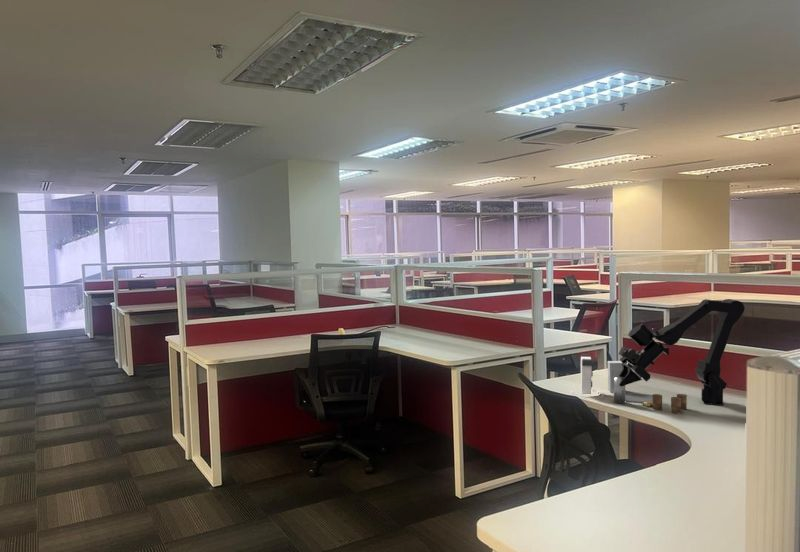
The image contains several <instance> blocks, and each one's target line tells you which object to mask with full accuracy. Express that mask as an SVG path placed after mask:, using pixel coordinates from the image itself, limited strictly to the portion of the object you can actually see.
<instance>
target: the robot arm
mask: <svg viewBox="0 0 800 552" xmlns="http://www.w3.org/2000/svg"><path fill="white" fill-rule="evenodd" d="M745 308H746V307H745V305H744V303H743V302H742V301H739V300H738V299H737V300H736V299H732V298H726V299H723V300H715V299H714V300H712V299H707V298H705V299H703V300H702V301H700V303H699V304H698V305H696V306H695V307H694V308H691V310H689V311H688V312H687V313H685V314H684V315H683V316H682V317H681V318H679V319H678V320H676V321H674V322H673V323H669V324H667V325H665V326H663V327H661V328H660V329H658V330H657V331H650V330H649V329H648V328H647V326H646V325H645V324H644V323H640V324H638V325H636V326H635V327H633V328H632V329H630V331H629V332H628V335H627V336H628V337H629V338H630V339H631V340H632V341H634V342H635V344H637V345H638V347H643V348H642V349H640V350H636V349H633V348H626V347H624V346H621V347H620V350H619V352H618V355H620V357H621V358H620V359H619V361H621V362H622V371H621V373H620V375H619V376H618V377H624V378H623V380H622V381H621V382H620V384H619V385H620V386H624V385H625V386H627V385H630V384H632V383H637V382H638V381H639V382H640V381H645V382H646V383H647V382H648V381H649V380H650V379H651V374H650V373H649V372H648V371H647V368H648V367H650V366H653V365H655V361H656V360H657V359H658V358H659V357H660V356H661V355H662V354H663V353H664V354H665V355H667V356H670V347H668V346H674V345H676V344H677V343H678V341H680V340H681V339H682V337H684V334H685V332H686V331H688V329H690V328H691V327H692V326H694V325H695V324H697V322H699V321H700V320H702V319H703V318H704V317H706V316H707V315H708V314H709V313H711V312H718V318H719V322H718V323H717V327H716V330H715V333H714V334H713V338H712V341H711V343H710V346H709V349H708V352H707V354H706V357H704V358H703V359H700V358H699V359H698V361H697V365H696V366H695V368H694V370H695V375H696V377H697V379H699V380H700V382H701V384H703V386H702V387H703V388H701V401H702V402H703V404H704V405H716V406H724V405H725V404H724V390H726V386H727V382H726V381H724V380H723V378H721V371H722V368H721V360H722V357H723V355H724V352H725V350H726V346H727V344H728V341H729V338H730V336H731V332H732V330H733V328H734V326H735V325H736V323H737V322H738V321H739V320H740V319H741V318H742V315H744V312H745ZM655 340H656V341H655ZM662 343H663V344H662ZM664 344H665V345H667V346H665V345H664Z"/></svg>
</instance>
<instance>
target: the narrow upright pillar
mask: <svg viewBox="0 0 800 552" xmlns="http://www.w3.org/2000/svg"><path fill="white" fill-rule="evenodd" d="M592 361H593V359H592V357H591V354H588V353H587V354H586V353H582V354H580V389H581V390H582V394H591V390H594V389H592V388H593V381H592V377H593V374H594V373H593V365H592ZM571 392H572V390H571V391H570V393H571ZM594 392H598V394H599V393H601V392H600V391H598V390H594Z"/></svg>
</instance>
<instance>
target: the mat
mask: <svg viewBox="0 0 800 552" xmlns="http://www.w3.org/2000/svg"><path fill="white" fill-rule="evenodd" d="M625 401H626V402H625V403H635V404H636V403H637V404H639V403H640V404H643V401H653V394H647V393H637V392H636V393H635V392H625Z"/></svg>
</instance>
